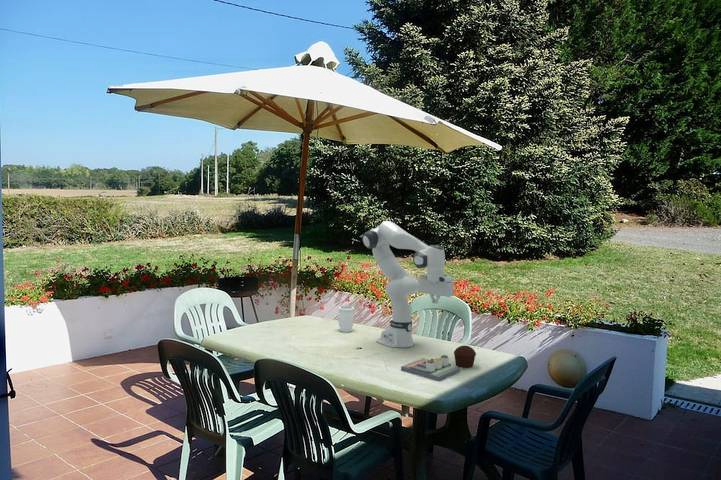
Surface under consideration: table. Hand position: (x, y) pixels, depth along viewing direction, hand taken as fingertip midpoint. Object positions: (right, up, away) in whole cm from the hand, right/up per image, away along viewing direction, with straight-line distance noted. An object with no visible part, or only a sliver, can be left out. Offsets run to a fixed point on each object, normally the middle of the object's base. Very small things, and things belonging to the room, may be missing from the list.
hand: (435, 303), depth 273 cm
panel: (-4, -32, -12) cm, 35 cm away
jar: (-48, -26, +64) cm, 84 cm away
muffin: (+15, -32, -3) cm, 35 cm away
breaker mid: (-1, -30, -15) cm, 34 cm away
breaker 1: (-5, -30, -20) cm, 36 cm away
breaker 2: (+3, -30, -11) cm, 32 cm away
